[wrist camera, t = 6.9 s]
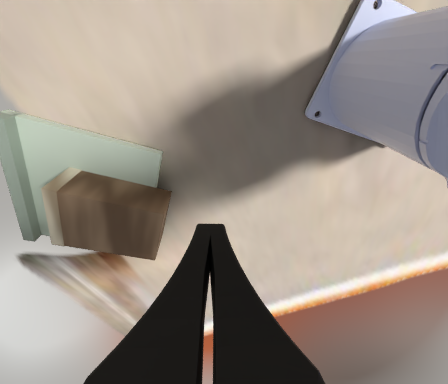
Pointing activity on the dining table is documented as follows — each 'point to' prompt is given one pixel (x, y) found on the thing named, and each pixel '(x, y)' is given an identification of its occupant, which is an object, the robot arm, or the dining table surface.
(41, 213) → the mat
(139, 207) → the walnut block
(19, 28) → the dining table surface
